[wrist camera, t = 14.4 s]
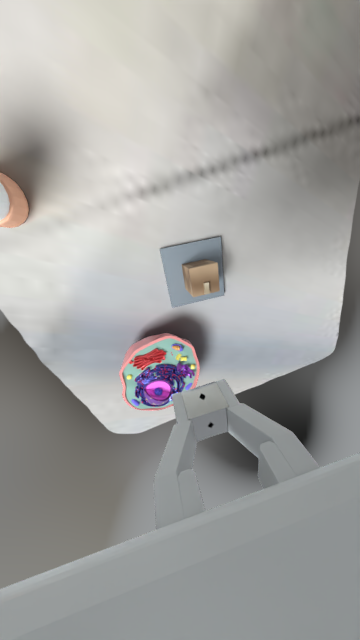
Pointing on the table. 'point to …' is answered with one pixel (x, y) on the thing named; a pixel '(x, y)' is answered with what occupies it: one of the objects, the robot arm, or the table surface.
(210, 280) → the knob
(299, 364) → the table surface
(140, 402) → the cell model
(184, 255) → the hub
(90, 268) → the table surface
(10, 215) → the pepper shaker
